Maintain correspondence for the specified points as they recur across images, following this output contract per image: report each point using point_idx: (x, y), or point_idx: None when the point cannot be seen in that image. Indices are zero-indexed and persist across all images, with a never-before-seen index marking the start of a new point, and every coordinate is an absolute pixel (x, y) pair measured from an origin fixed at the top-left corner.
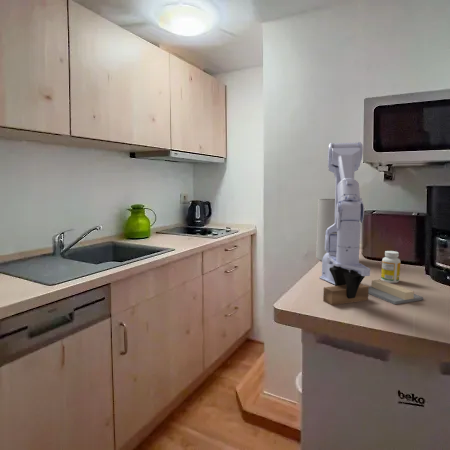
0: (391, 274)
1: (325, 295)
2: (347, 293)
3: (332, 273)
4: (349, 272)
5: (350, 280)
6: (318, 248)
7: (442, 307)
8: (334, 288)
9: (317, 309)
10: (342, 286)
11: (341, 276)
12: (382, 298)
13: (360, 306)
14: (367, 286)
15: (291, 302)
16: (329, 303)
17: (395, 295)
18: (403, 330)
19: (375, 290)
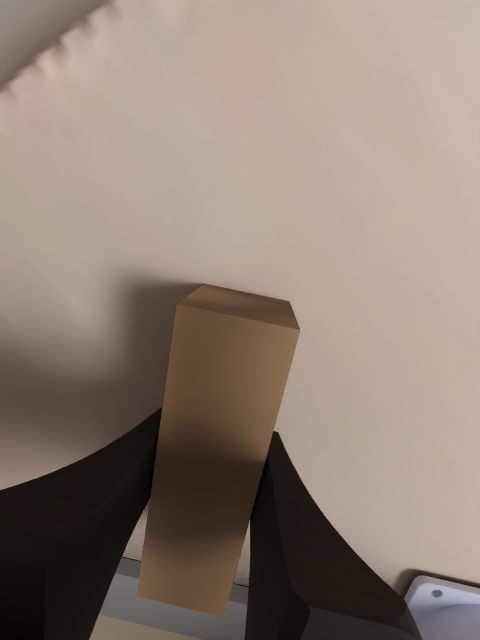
0: None
1: (269, 307)
2: (156, 420)
3: (338, 559)
4: (14, 624)
5: (18, 488)
6: None
7: None
8: (226, 385)
9: (196, 137)
10: (229, 475)
11: (260, 577)
12: (137, 566)
13: (115, 406)
14: (141, 592)
15: (417, 52)
16: (223, 288)
17: (108, 621)
18: None
19: (214, 625)
